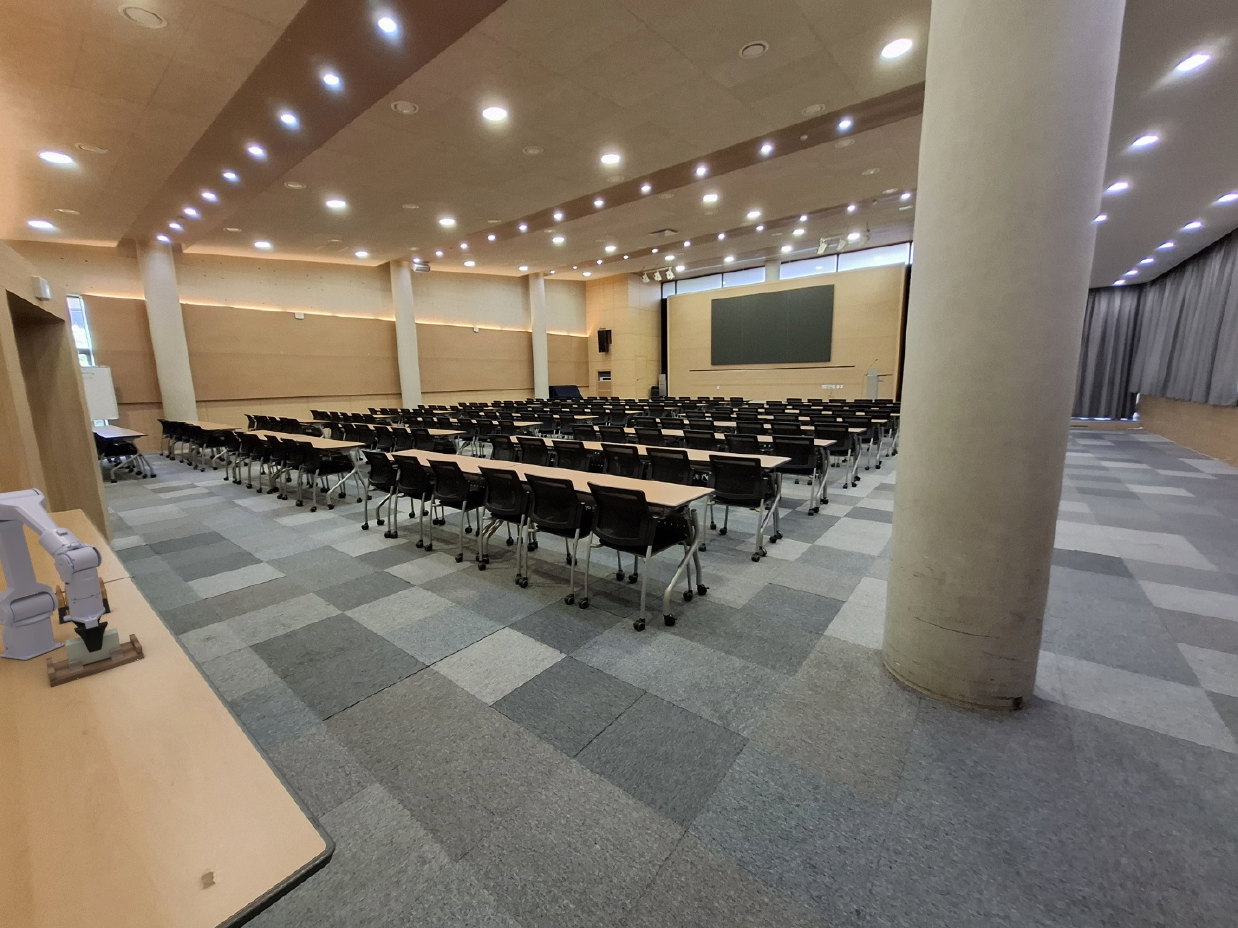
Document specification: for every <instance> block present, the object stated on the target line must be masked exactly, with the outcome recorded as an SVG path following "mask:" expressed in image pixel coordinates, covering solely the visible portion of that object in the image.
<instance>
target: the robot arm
mask: <svg viewBox="0 0 1238 928" xmlns="http://www.w3.org/2000/svg"><path fill="white" fill-rule="evenodd" d="M46 508H47V500H46V497H45V495H44V493H43V492H42V491H41V490H39V489H37V488H34V487H31V488H29V489H24V490H16V491H9V492H8V491H7V492H1V493H0V564H1V568H2V570H3V575H4V579H5V583H6V585H7V586H6V588H5V589H4V590H3V591H1V592H0V625H1V626H3V627H2V629H1V632H0V635H1V640H2V644H3V650H4V653H1V654H0V657H1V658H9V659H15V660H21V661H22V660H23V661H28V660H31V659H32V658H35V657H37V656H38V657H39V656H40V655H43V654H46V653H48V652H51V651H54V650H56V649H59V648H60V647H64V646H66V642H56V639H55V636H54V631H53V625H52V619H51V617H52V616H54V612H56V611H57V610H58V608H57V607H58V599H57V597H56V593H55V591H53V590H54V589H53V587H52V586H51V585H49V584H47V583H42V582H37V578H36V573H35V569H34V566H33V562H32V558H31V554H30V550H29V547H28V543H27V539H26V535H25V531H24V527H23V526H24V525H26V527H28V528H29V529H30V530H32V531H33V532H35V534H37V535H38V536H39V539H38V544H39V545H40V546H41V547H42V549H44V550H45V551H46V553H47V554H49V555H50V556H51V557H52V558H53V559H54V567H55V570H56V571H57V573H58V574H59V578H60V580H61V582H63V583H64V589H65V588H66V593H67V599H68V604H69V610H70V615H68V614H67V615H68V616H65V617H64V621H68V620H71V621H72V622H71V623H73V625H75V626H76V627H74V628H73V630H74V632H75V634H76V635H78V637H81V638H82V639H83V641H84V643H85V645H86V648H87V650H88V651H89V652H90V653H91V652H95V651H98V650H101V649H102V644H103V635H104V631H105V630H107V627H108V625H109V622H108V620H107V621H101V617H102V616H103V615H102V614H103V613H104V612H105V608H104V607H103V601H102V595H101V589H100V583H99V577H100V576H99V573H98V568H99V567H100V566H101V565H102V562H103V559H102V558H103V557H102V554H101V551H99V549H98V548H97V546H95V545H92V544H89V543H83V542H82V541H81V540H80V539H79V538H78V537H77V536H76V535H75V534H74V533H73V532H72V531H71V530H70V529H69V528H67V527H66V528H65V527H59V526H58V524H57V523H56V522H55V520H54V519H53V518H52V516H51V515H50V514H49V513H48V511H47V510H46ZM100 621H101V622H100Z"/></svg>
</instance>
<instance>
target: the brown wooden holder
mask: <svg viewBox="0 0 1238 928" xmlns="http://www.w3.org/2000/svg"><path fill="white" fill-rule="evenodd" d="M110 653H111V657H110V658H106V659H102V660H99V661H95V662H92V663H88V664H85V665H83V664H82V659H80V660H76V661H73V662H69V661H68V656H67V655H66V658H67V659H64V660H61V661H58V662H54V663H53V657H52V656H50V657H46V658H45V663H46V668H47V674H48V679H49V683H50V688H54V687H56V686H59V685H64V684H66V683H69V682H72V680H73V681H76V680H78V679H77V678H79V679H81V678H85V676H86V677H89V676H92V675H95V674H98V673H101V672H105V671H107V670H111V669H114V668H117V667H120V665H121V666H124V665H126V664H130V663H133V662H132V661H134V660H137V659H140V660H143V659H145V656H144V652H143V646H142V644H141V642H140V640H139V638H138V637H137V636H136V634H135V633H131V634H129V641H127V642H124V643H120V648H117V649H114V650H110ZM142 658H143V659H142ZM137 661H138V660H137ZM134 662H135V661H134ZM69 663H70V667H69ZM88 675H89V676H88ZM75 679H76V680H75Z"/></svg>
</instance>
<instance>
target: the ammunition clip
mask: <svg viewBox="0 0 1238 928" xmlns="http://www.w3.org/2000/svg"><path fill="white" fill-rule="evenodd" d="M98 577H99V583H100V589H101V595H102V601H103V607H104V608H105V612H104V613H103V614H102V616H103V615H107V614H111V613H112V612H111V606H110V603H109V599H108V593H107V589H106V586H105V581H104V579H103V577H101V576H98ZM55 595H56V597H57V599H58V607H57V611H58V622H59V625H64V624H67V623H73V622H72V621H71V620H68V621H64V617H65V616H68V615H70V610H69V604H68V599H67V593H66V588H65V587H64V595H63V591H62V588H61V586H60V585H59V584H57V585H56V587H55Z"/></svg>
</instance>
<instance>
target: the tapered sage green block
mask: <svg viewBox="0 0 1238 928" xmlns="http://www.w3.org/2000/svg"><path fill="white" fill-rule="evenodd" d="M120 644H121V642H120V637H119V631H118V627H113V628H110V629H105V631H104V635H103V644H102V649H101V650H98V651H95V652H91V653H90V652H89V651H88V650H87V648H86V645H85V643H84V641H83V639H82V638H81V637H80V636H78V637H74V638H71V639H66V640H65V649H66V650H65V651H66V657H67V656H68V658H67V659H68V661H69V662H73V661H76V660H80V659H82V664H83V665H85V664H88V663H92V662H95V661H99V660H102V659H106V658H110V657H111V653H110V650H114V649H117V648H120ZM69 667H70V663H69Z"/></svg>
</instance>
